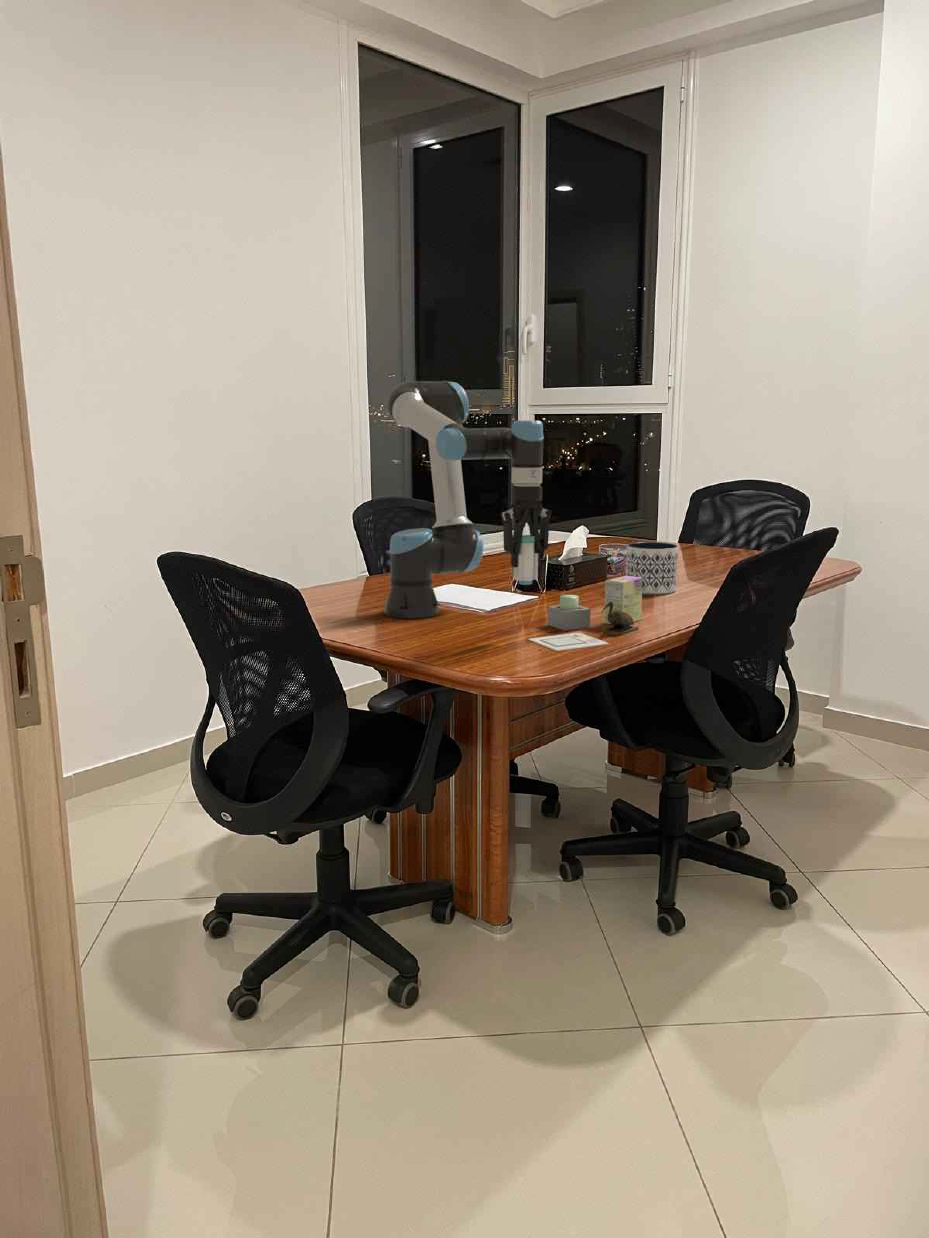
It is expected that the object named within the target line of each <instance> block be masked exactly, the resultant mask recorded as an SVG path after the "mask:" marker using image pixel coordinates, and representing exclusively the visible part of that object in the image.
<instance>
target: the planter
mask: <svg viewBox="0 0 929 1238" xmlns="http://www.w3.org/2000/svg"><path fill="white" fill-rule="evenodd" d="M625 551H626V553H625V554H626V555H625V556H626V558H625V576H634V577H642V595H667V594H672V593H674V592H675V591H676V590H677V579H678V578H677V577H678V575H677V574H678V560H679V559H678V556H679V554H678V553H679V546H678V544H675V543H670V542H669V543H668V542H656V541H655V542H654V541H641V542H638V541H637V542H631V543H627V544H626V550H625Z"/></svg>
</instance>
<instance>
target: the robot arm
mask: <svg viewBox="0 0 929 1238" xmlns="http://www.w3.org/2000/svg"><path fill="white" fill-rule="evenodd" d="M385 407H386V411H387V414H388V416H389V417H390V419H391V420H392V421H393V422H395V424H397V425H399V426H401V427H403V428H409V429H411V430H412V431H414V432H416V433H418V435H420V436H421V437H423V438H425V439H426V440H427V441H428V450H429V459H430V461H429V462H430V467H431V468H430V469H431V480H432V489H433V497H434V506H435V516H436V520H435V521H436V522H435V523H434V525H433V526H432V527H431V528H429V527H428V528H426V527H425V528H424V527H419V528H409V529H405V530H404V529H403V530H400V531H398V532H395V533H394V534H392V535H391V537H390V540H389V541H390V543H389V550H388V551H389V552H388V553H389V568H390V569H389V570H390V588H389V591H388V593H387V598H386V601H385V605H384V614H385V616H387V617H391V618H394V619H395V618H396V619H424V618H432V617H434V616H437V615H438V614H440V611H439V609H440V607H439V603H438V599H437V596H436V593H435V589H434V587H433V575H443V574H444V575H445V574H457V573H458V574H461V573H462V574H463V573H466V572H471V571H474V570H475V569H477V568H478V566H479V565H480V564H481V563H480V562H481V561H482V558H483V555H484V540H483V536H481V535H482V534H481V533H480V531H478V530H476V529H474V525H473V524H474V523H473V522H472V521H471V520H470V519H469V518H468V516H467V509H466V508H467V507H466V497H465V490H464V489H465V487H464V481H463V480H464V479H463V478H464V477H463V472H462V471H463V468H462V460H463V461H464V460H466V461H467V460H494V459H495V460H496V459H497V460H499V459H503V460H504V459H506V460H507V459H509V460H510V459H511V479H510V480H511V481H510V482H511V483H512V484H513V485H512V486H511V489H510V490H511V491H510V492H511V493H510V497H511V505H510V507H509V508H510V509H509V510H506V511H502V512H500V516H501V519H502V527H503V528H502V529H503V551H504V552H507V553H509V554H510V566H511V567H512V568H513V580H514V581H517V582H519V581H522V555H521V554H519V551H520V545H521V540H522V535H524V534H523V533H524V529H525V527H526V524H527V526H528V528H529V535H534V536H535V542H534V580H538V579H539V577H538V575H539V566H540V565H541V559H542V558H541V554H543V553H544V551H546V550H548V548H549V535H550V534H549V533H550V519H551V516H552V514H553V511H552V510H551V509H546V508H543V504H542V500H543V486H542V485H541V484H542V483H543V461H544V457H543V456H544V440H545V435H544V424H543V422H542V421H541V420H530V419H529V420H527V419H525V420H513V421H512V424H511V428H510V427H505V426H504V427H486V428H485V427H483V428H481V427H479V428H475V427H474V428H472V427H471V428H467V427H464V426H463V423H465V422H466V421H467V419H468V416H469V414H468V413H469V411H470V408H469V407H470V405H469V399H468V395H467V393H466V391H465V389H464V388H463V387H462V386H461V385H460V384H459V383H457V382H454V381H447V380H440V381H437V380H436V381H435V380H432V381H431V380H426V381H424V380H408V381H403V382H401V383H399V384H397V385H396V386H394V387H393V388H392V389H391V391H389V393H388V395H387V398H386V406H385ZM513 517H514V521H513ZM539 517H540V518H539ZM513 526H514V528H513Z"/></svg>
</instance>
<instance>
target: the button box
mask: <svg viewBox="0 0 929 1238" xmlns="http://www.w3.org/2000/svg"><path fill="white" fill-rule="evenodd" d="M591 609H592V608H589V607H585V606H583V605H579V604H578V609H576V610H567V611H566V610H563V609H560V604H558V605H548V606H547V626H550V627H553V628H555V629H558V630H561V631H564V632H565V631H572V630H573V631H574V630H581V629H582V630H583V629H590V628H591Z"/></svg>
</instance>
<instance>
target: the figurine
mask: <svg viewBox="0 0 929 1238" xmlns="http://www.w3.org/2000/svg"><path fill="white" fill-rule="evenodd" d="M609 606H610V610H609V614H608V617H607V618H608V621H609V622H610V623H611V624H610V625H612V624H613V625H612V627H608V628H607V629H605V630H603V634H605V635H610V636H616V637H619V636H623V635H627V634H630V633H633V632H637V631H639V628H640V627H639V626H634V622H633V619H632V617H631V616H630V615H629V614H627V613H625V612H623V611H612V609H613V602H609V603H608V604H607V605H606V606H605V605H604V606H603V609H602V612H601V615H604V614H603V613H604V612H605V608H607V607H609ZM611 611H612V612H611Z"/></svg>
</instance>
